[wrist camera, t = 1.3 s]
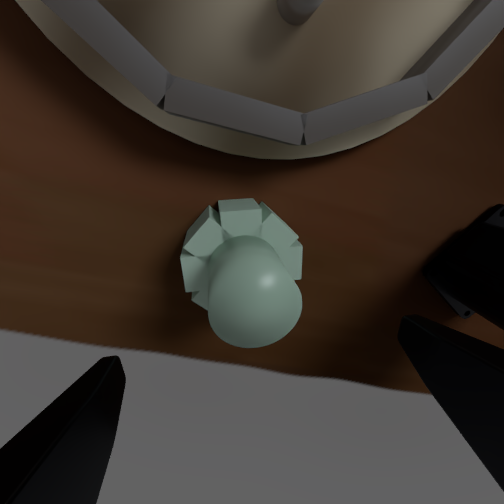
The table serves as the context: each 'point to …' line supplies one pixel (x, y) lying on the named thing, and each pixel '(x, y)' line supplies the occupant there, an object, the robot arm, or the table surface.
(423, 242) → the table surface
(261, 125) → the carrier plate
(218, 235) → the pale green domed piece
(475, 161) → the table surface
